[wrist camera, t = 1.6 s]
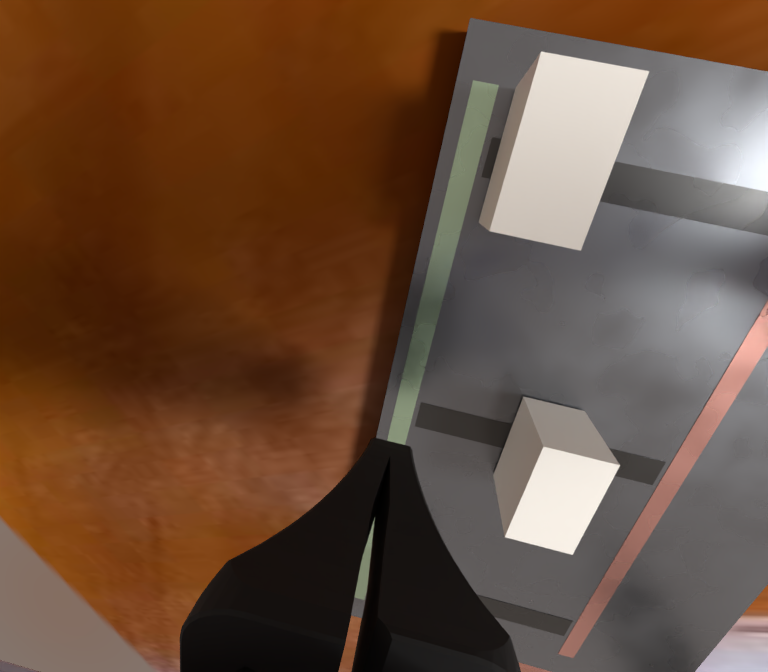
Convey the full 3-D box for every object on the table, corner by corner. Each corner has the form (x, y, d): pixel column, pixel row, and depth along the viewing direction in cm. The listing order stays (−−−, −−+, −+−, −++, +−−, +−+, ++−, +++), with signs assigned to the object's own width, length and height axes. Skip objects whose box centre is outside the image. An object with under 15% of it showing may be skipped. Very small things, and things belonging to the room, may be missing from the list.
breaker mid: (584, 411, 15) (620, 465, 12) (548, 489, 16) (572, 554, 13) (523, 396, 15) (543, 446, 12) (493, 475, 17) (504, 537, 14)
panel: (1081, 143, 11) (1141, 138, 10) (657, 681, 21) (667, 704, 20) (468, 31, 12) (470, 17, 11) (341, 593, 22) (337, 611, 21)
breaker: (595, 102, 11) (649, 71, 8) (548, 237, 13) (580, 250, 10) (515, 87, 12) (541, 51, 9) (478, 222, 13) (489, 230, 10)
